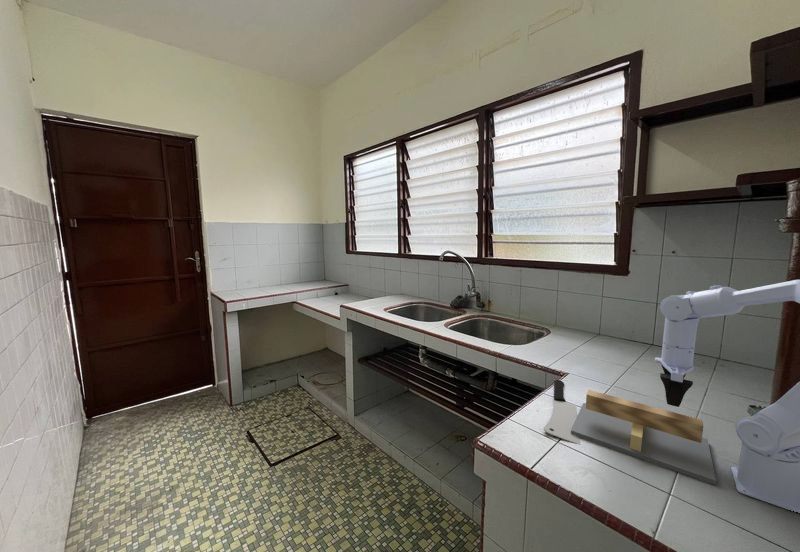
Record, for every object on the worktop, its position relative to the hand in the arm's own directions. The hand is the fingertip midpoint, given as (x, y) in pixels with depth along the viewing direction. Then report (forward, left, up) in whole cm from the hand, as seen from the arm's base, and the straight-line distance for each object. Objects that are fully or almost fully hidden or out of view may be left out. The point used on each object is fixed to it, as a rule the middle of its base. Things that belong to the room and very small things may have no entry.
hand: (672, 398), depth 76 cm
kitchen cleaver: (+23, +2, -11) cm, 25 cm away
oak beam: (+6, +6, -5) cm, 10 cm away
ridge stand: (+6, +6, -10) cm, 13 cm away
